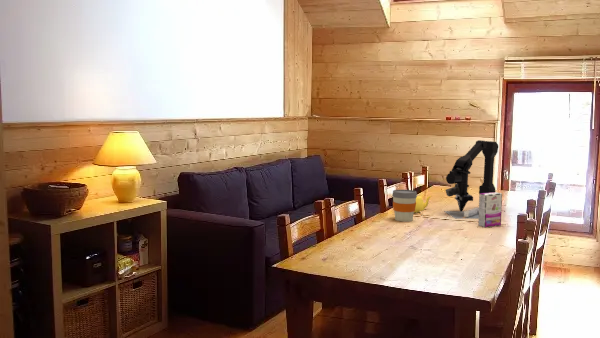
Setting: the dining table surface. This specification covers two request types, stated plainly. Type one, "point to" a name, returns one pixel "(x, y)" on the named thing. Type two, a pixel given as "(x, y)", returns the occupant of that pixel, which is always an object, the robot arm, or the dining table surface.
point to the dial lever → (471, 212)
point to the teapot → (421, 204)
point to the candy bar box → (490, 209)
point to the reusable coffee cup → (404, 204)
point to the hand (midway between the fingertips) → (460, 211)
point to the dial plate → (461, 215)
